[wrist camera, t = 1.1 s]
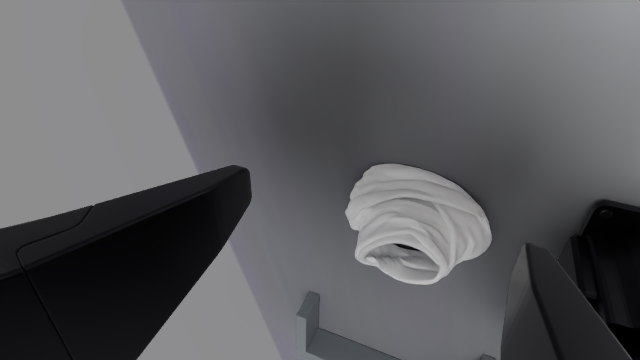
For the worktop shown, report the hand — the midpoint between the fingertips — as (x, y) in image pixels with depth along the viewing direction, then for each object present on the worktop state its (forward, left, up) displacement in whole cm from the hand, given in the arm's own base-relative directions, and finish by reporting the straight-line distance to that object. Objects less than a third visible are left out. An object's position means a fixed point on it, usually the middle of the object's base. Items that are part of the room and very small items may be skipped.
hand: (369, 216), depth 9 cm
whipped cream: (0, +9, -12) cm, 15 cm away
